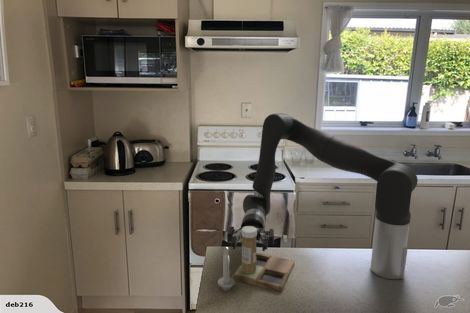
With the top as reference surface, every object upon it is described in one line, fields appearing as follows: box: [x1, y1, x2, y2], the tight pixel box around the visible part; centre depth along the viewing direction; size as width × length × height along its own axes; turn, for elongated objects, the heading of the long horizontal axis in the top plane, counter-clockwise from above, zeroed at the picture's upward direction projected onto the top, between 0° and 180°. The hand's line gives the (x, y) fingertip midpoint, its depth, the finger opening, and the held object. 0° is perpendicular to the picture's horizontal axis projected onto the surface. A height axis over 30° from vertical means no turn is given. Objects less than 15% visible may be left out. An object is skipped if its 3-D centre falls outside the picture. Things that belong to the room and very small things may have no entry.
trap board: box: [232, 252, 295, 293], centre depth 104 cm, size 15×15×2 cm
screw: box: [217, 246, 236, 292], centre depth 95 cm, size 13×5×5 cm
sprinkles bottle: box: [241, 226, 257, 274], centre depth 100 cm, size 5×5×13 cm
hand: (248, 247), depth 98 cm, fingers open, 8 cm apart
